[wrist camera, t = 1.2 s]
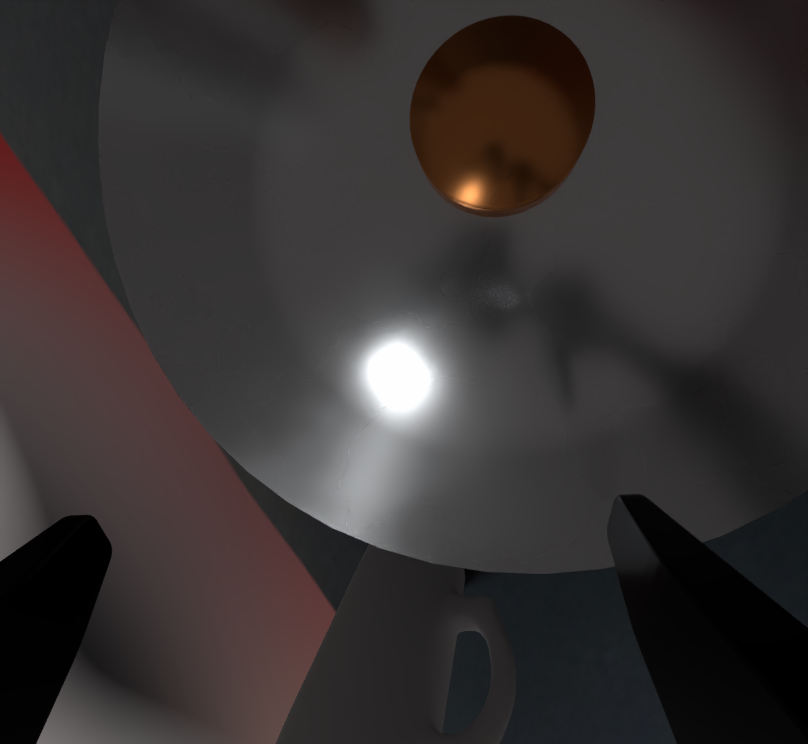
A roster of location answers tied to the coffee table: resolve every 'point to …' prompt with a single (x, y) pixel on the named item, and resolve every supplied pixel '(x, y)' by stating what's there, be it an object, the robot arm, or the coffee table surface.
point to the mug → (400, 660)
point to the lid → (474, 257)
